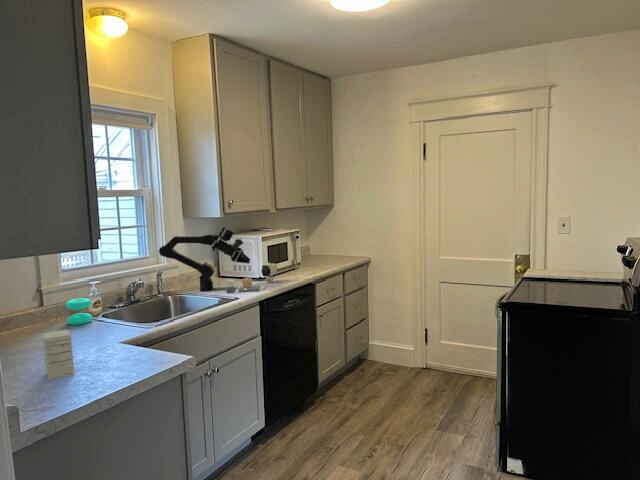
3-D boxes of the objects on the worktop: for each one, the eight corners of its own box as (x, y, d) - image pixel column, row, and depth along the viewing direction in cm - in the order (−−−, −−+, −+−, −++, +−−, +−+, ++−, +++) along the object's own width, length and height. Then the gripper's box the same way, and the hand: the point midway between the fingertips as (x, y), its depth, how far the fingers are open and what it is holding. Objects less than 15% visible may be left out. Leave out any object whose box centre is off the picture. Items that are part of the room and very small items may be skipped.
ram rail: (226, 293, 258) (226, 287, 257) (229, 288, 271) (228, 283, 271) (232, 292, 258) (232, 287, 258) (234, 287, 272) (234, 282, 271)
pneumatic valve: (261, 284, 280) (260, 263, 279) (271, 280, 291) (270, 261, 290) (269, 284, 278) (268, 264, 277) (279, 280, 289) (278, 261, 288)
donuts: (69, 303, 199) (62, 300, 206) (71, 327, 200) (64, 323, 207) (94, 299, 206) (86, 296, 213) (96, 322, 207) (88, 318, 214)
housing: (242, 289, 268) (242, 278, 267) (243, 287, 273) (242, 277, 272) (251, 288, 268) (251, 278, 268) (252, 286, 273) (251, 276, 273)
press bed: (238, 292, 258) (238, 290, 258) (239, 289, 266) (239, 287, 266) (257, 291, 259) (257, 289, 259) (257, 288, 267) (257, 286, 267)
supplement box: (46, 373, 146) (42, 333, 145) (73, 367, 150) (69, 328, 149) (46, 380, 140) (42, 338, 139) (74, 375, 144) (71, 334, 142)
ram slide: (228, 287, 268) (227, 281, 267) (228, 286, 271) (228, 280, 271) (234, 286, 268) (233, 280, 268) (234, 285, 271) (234, 279, 271)
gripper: (231, 237, 258) (256, 251, 260) (233, 234, 276) (257, 247, 278) (220, 254, 258) (246, 268, 260) (224, 250, 277) (248, 263, 279)
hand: (249, 261), depth 269 cm, fingers open, 9 cm apart
